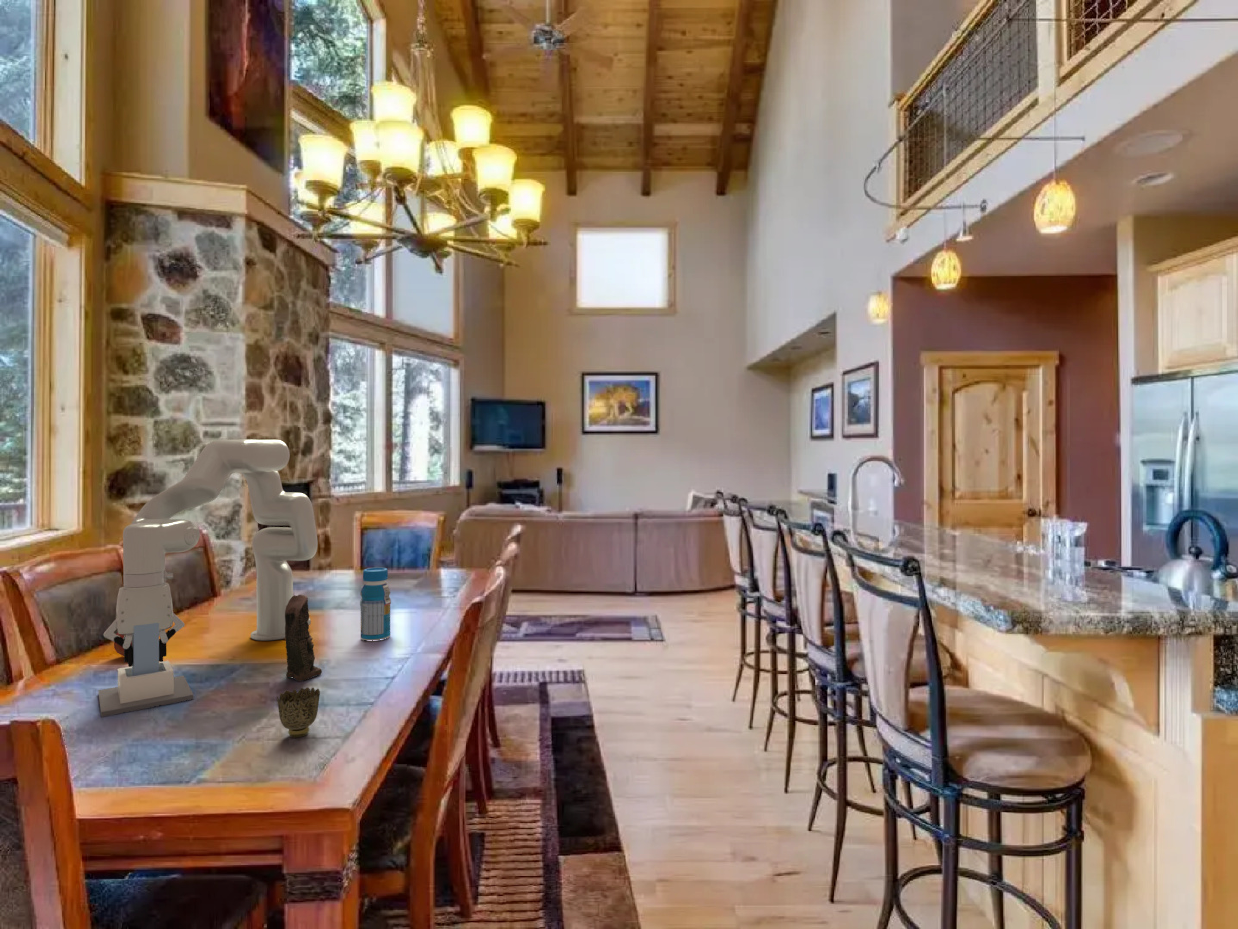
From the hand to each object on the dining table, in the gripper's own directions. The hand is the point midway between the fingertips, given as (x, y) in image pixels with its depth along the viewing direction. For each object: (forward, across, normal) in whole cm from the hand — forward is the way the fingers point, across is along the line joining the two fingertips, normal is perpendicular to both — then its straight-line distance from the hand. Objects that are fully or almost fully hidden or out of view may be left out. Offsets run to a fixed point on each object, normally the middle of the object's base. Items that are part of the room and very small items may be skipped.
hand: (145, 661), depth 150 cm
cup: (+8, -21, +42) cm, 48 cm away
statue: (+8, -30, +7) cm, 32 cm away
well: (+8, 0, 0) cm, 8 cm away
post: (+6, 0, 0) cm, 6 cm away
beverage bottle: (+8, -56, -16) cm, 59 cm away
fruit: (+8, 0, -37) cm, 38 cm away
